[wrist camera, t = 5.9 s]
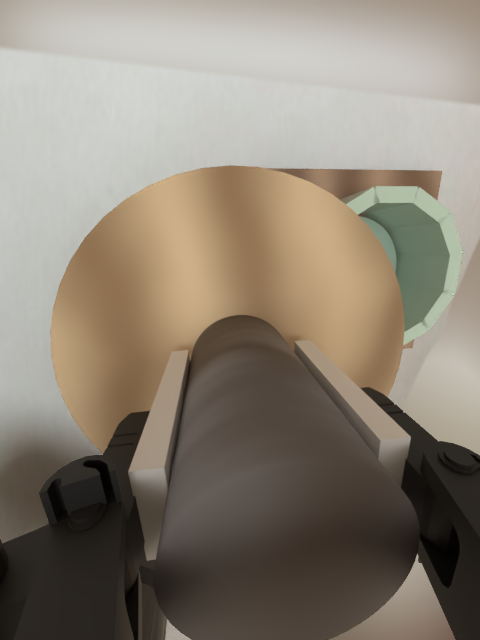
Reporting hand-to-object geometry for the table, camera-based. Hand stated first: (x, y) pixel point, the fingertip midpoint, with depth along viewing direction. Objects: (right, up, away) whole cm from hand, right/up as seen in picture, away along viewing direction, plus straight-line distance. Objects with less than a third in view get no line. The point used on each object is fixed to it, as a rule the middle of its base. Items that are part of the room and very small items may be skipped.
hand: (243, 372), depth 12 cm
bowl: (+11, +8, +17) cm, 22 cm away
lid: (0, +1, +2) cm, 2 cm away
